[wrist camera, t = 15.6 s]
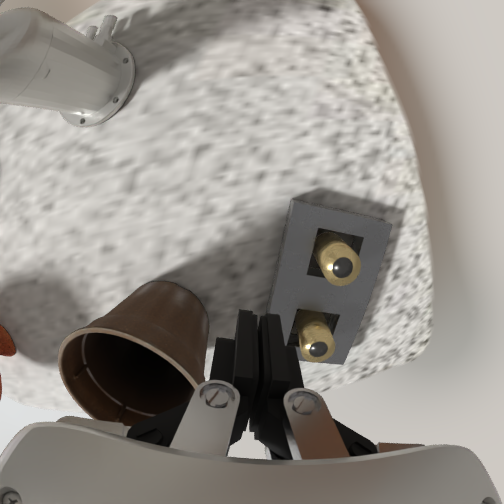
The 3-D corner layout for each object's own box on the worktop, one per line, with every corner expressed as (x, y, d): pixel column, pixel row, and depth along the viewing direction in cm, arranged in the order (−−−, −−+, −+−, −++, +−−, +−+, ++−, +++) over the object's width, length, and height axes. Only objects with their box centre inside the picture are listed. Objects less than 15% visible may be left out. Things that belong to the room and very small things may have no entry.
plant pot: (188, 244, 35) (137, 303, 19) (246, 344, 39) (238, 434, 23) (98, 290, 37) (34, 350, 22) (156, 373, 41) (123, 449, 26)
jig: (290, 198, 33) (298, 207, 26) (382, 219, 33) (408, 233, 26) (258, 342, 39) (258, 375, 32) (338, 352, 39) (350, 383, 32)
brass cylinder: (316, 229, 34) (329, 245, 27) (346, 235, 34) (365, 252, 27) (308, 260, 35) (319, 283, 28) (338, 265, 35) (354, 288, 28)
